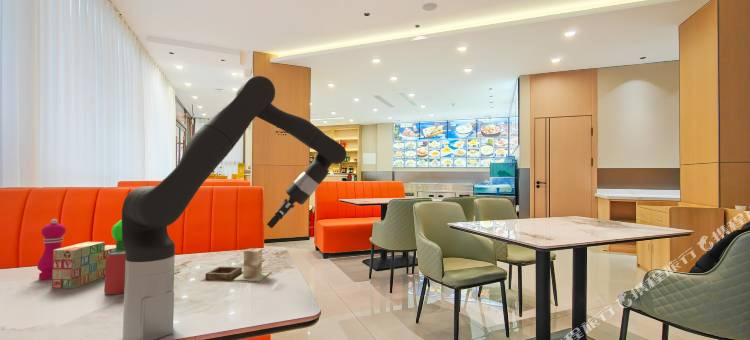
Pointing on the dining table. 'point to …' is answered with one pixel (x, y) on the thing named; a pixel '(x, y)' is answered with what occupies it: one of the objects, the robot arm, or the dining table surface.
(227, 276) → the puzzle board
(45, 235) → the pepper mill
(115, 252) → the beer can
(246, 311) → the dining table surface
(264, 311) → the dining table surface
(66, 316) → the dining table surface
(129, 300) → the robot arm
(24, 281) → the dining table surface
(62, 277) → the stack of blocks
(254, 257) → the maple block
